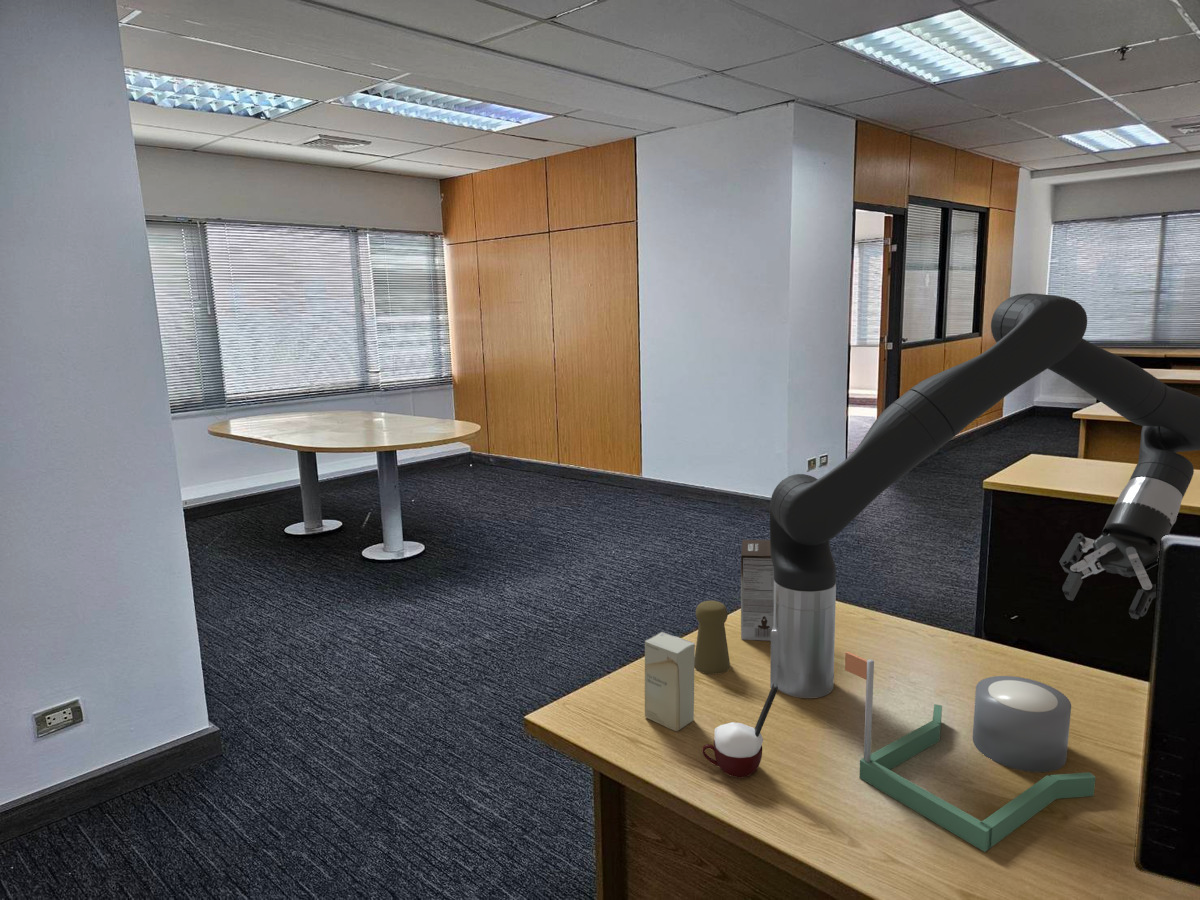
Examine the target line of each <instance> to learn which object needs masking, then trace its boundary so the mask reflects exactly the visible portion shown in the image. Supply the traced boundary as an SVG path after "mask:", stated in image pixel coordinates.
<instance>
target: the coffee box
mask: <svg viewBox="0 0 1200 900" xmlns="http://www.w3.org/2000/svg"><path fill="white" fill-rule="evenodd" d="M740 552H741V553H740V632H741V633H740V635H741V638H740V639H741V640H747V641H749V640H750V641H767V642H768V641H769V642H771V630H772V628H773V616H774V569H773V563H772V559H771V552H770V539H742V541H741V550H740Z"/></svg>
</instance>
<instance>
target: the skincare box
mask: <svg viewBox="0 0 1200 900" xmlns="http://www.w3.org/2000/svg"><path fill="white" fill-rule="evenodd" d="M695 651H696V644H695V642H692V641H689V640H688V639H684V638H681V637H679V636H676V635H675V636H674V635H673V634H669V633H667V632H664V631H660V632H659V633H656V634H654V635H653V636H650V637H649V638H648V639H645V640H644V717H645V718H646V719H649V720H650V721H653V722H654V723H657V724H659V725H661V726H664V727H666V728H667V729H670V730H672V731H673V732H674V731H675V732H678V731H680V730H681V729H683V728H685V727H686V726H687V725H688V724H690V723H691V722H693V721H694V720H695V719H694V718H695V717H694V716H695V713H694V712H695V668H694V660H695Z"/></svg>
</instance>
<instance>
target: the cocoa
mask: <svg viewBox="0 0 1200 900" xmlns="http://www.w3.org/2000/svg"><path fill="white" fill-rule="evenodd" d="M778 691H779V690H778V686H777V683H776V682H774V683H773V685H772V688H770V690H769V692H768V694H767V698H766V700H765V702H764V705H763V708H762V710H761V712H760V714H759V717H758V720H757V722H756V724H755V726H754V727H753V726H750V725H746V724H745V723H741V722H733V721H731V722H728V723H724V724H721V725H718V726H717V727H715V728H714V739H713V744H709V743H706V744H704V745H703V747H702V749H701V750H702V751H701V752H702V755H703V757H704V758H705V759H706V760H707V761H708V762H709V763H711V764H713V765H714V766H716V767H719V770H721V771H722V772H723V774H726V775H728V776H730V777H734V778H739V779H740V778H746V777H749V776H751V775H753V774H754V773H755V772H756V771H757V769H758V768H759V767H760V764H761V761H762V758H763V742H764V738H763V735H762V733H761V732H762V728H763V727H764V723H766V720H767V716H768V715H769V712H770V709H771V706H772V704H773V703H774V700H775V697H776V695H777V693H778ZM707 749H710V750H712V751H713V753H714V757H715V759H714V758H712V757H711V756H709V754H707V753H706V750H707Z"/></svg>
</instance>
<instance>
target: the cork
mask: <svg viewBox="0 0 1200 900" xmlns="http://www.w3.org/2000/svg"><path fill="white" fill-rule="evenodd" d="M725 605H726V604H724V603H722V602H720V601H719V600H718V601H717V600H704V601H702V602H700V603H699V604H698V605H697V606H696V609H695V617H696V620H697V622H698V629H697V636H696V644H695V660H694V670H696V671H698V672H700V673H703V674H706V675H720V674H724V673H726V672H728V671H729V670H730V669H731V663H730V654H729V649H728V647H729V646H728V640H727V635H726V626H725V624H726V622H727V620H728V613H729V612H728V609H727V607H726V606H725Z"/></svg>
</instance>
